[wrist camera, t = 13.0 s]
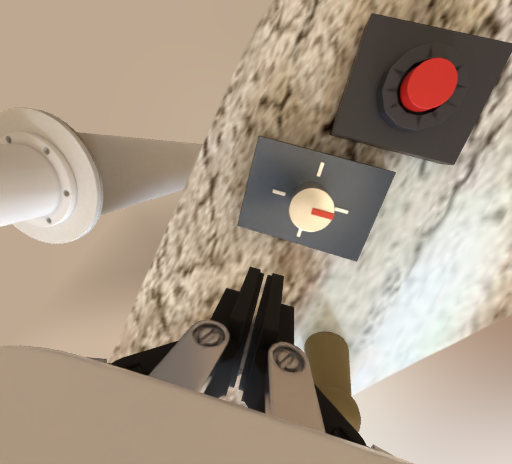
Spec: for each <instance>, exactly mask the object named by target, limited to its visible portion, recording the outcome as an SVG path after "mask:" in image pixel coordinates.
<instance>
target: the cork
mask: <svg viewBox="0 0 512 464" xmlns="http://www.w3.org/2000/svg"><path fill="white" fill-rule="evenodd" d="M305 355H306V356H307V359H308V361H309V365H310V369H311V373H312V377H313V382H314V384H315V385H316V386H317V387H318V388H319V389H320V390H321V392H322V393H323V394H324V395H325V396H326V397H327V398H328V399H329V400H330V402H331V403H332V404H333V405H334V406H335V407H336V408H337V409H338V411H339V412H340V413H341V414H342V415H343V416H344V417H345V418H346V420H347V421H348V422H349V423H350V424H351V425H352V426H353V427H354V428H355V430H356V431H357V432H358V431H359V429H360V424H361V417H360V412H359V409H358V406H357V404H356V402H355V400H354V399H353V398H352V397H351V382H350V365H349V349H348V346H347V343H346V342H345V341H344V339H343V338H341V337H340V336H339V335H336V334H334V333H331V332H320V333H316V334H314V335H312V336H311V337H310V338H308V339H307V341H306V343H305Z"/></svg>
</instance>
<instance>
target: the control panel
mask: <svg viewBox="0 0 512 464" xmlns="http://www.w3.org/2000/svg"><path fill="white" fill-rule="evenodd" d="M395 173H396V172H393V171H389V170H385V169H382V168H378V167H374V166H370V165H367V164H363V163H359V162H355V161H352V160H348V159H344V158H340V157H337V156H333V155H329V154H326V153H322V152H318V151H314V150H311V149H307V148H303V147H299V146H296V145H292V144H288V143H284V142H281V141H277V140H273V139H269V138H266V137H262V136H259V137H258V141H257V145H256V150H255V154H254V158H253V162H252V166H251V170H250V175H249V179H248V183H247V187H246V191H245V195H244V200H243V204H242V208H241V212H240V216H239V220H238V226H240V227H244V228H247V229H250V230H254V231H257V232H260V233H264V234H267V235H270V236H274V237H277V238H280V239H284V240H287V241H290V242H294V243H297V244H300V245H303V246H307V247H310V248H313V249H317V250H320V251H323V252H327V253H330V254H333V255H337V256H340V257H343V258H347V259H350V260H353V261H357V260H358V258H359V256H360V253H361V251H362V249H363V246H364V244H365V242H366V240H367V237H368V235H369V233H370V230H371V228H372V226H373V223H374V221H375V219H376V217H377V214H378V212H379V210H380V207H381V205H382V203H383V201H384V198H385V196H386V194H387V191H388V189H389V187H390V185H391V182H392V180H393V178H394V175H395ZM308 182H313V183H317V184H320V185H321V186H323V187H324V188H325V189H326V191H327V192H328V194H329V195H330V197H331V198H332V200H333V202H334V206H335V212H334V217H333V220H331V222H330V223H329V224H328V225H327V226H326V227H325V228H323V229H321V230H319V231H314V232H308V231H304V230H301V229H299V228H298V227H297V226H295V225H294V223H293V222H292V220H291V218H290V215H289V206H290V201H291V197H292V194H293V192H294V191H295V189H296V188H297V187H299V186H300V185H302V184H304V183H308Z"/></svg>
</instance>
